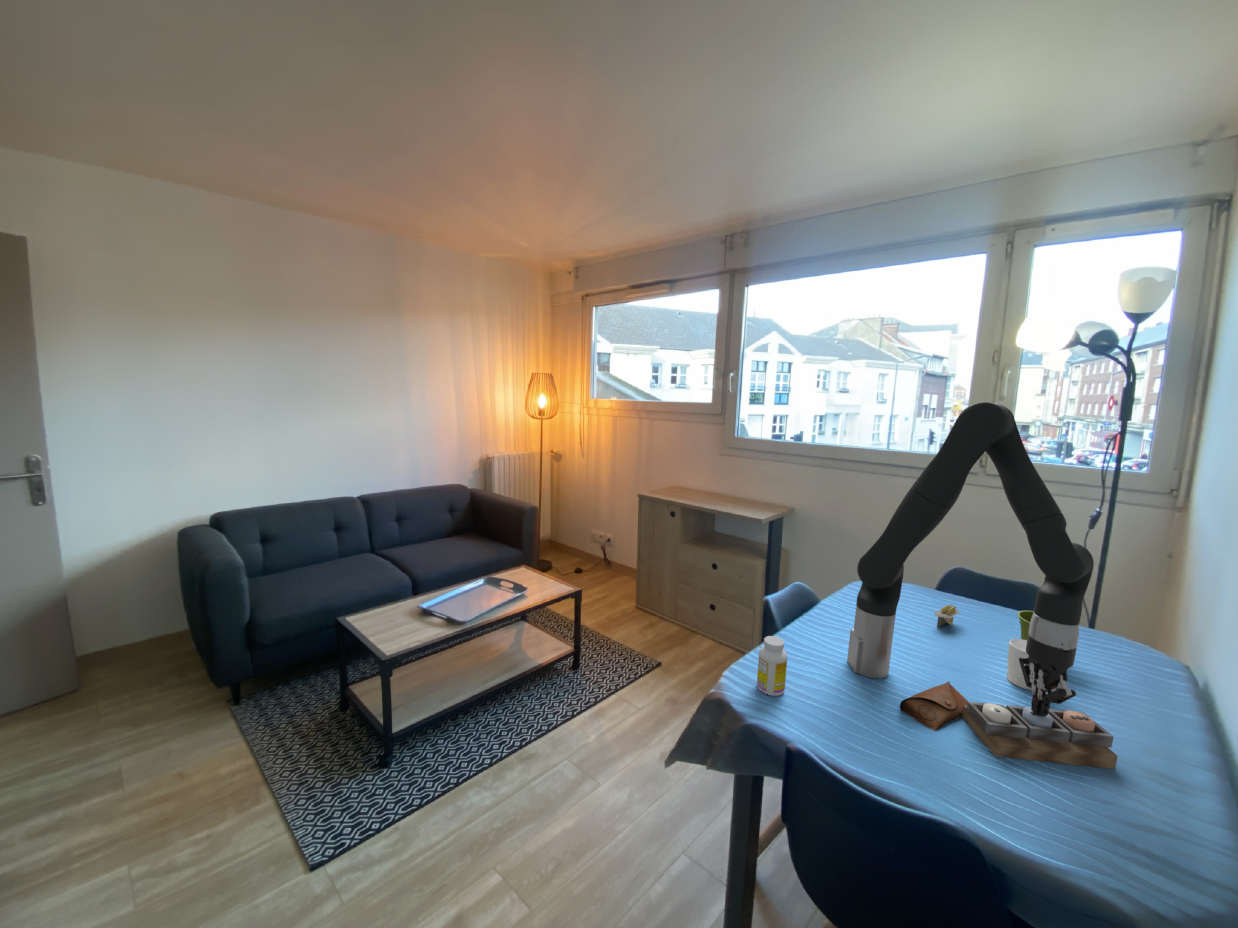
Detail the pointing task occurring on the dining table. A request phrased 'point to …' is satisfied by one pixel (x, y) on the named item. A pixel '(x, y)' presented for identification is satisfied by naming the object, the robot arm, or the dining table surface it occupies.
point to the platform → (946, 615)
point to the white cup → (1016, 662)
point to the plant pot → (1025, 623)
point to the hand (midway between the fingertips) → (1038, 713)
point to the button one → (996, 713)
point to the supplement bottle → (772, 666)
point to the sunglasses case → (935, 706)
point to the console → (1041, 739)
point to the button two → (1037, 718)
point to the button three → (1079, 721)
